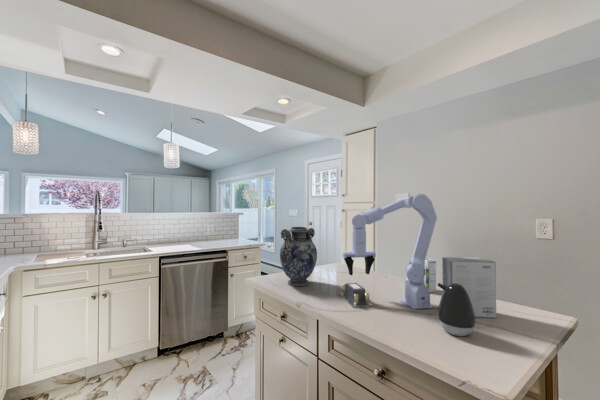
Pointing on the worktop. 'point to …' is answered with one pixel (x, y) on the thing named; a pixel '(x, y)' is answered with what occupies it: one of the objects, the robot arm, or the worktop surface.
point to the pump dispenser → (456, 310)
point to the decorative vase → (298, 255)
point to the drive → (355, 291)
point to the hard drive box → (473, 281)
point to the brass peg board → (356, 303)
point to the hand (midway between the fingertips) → (359, 274)
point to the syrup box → (430, 274)
